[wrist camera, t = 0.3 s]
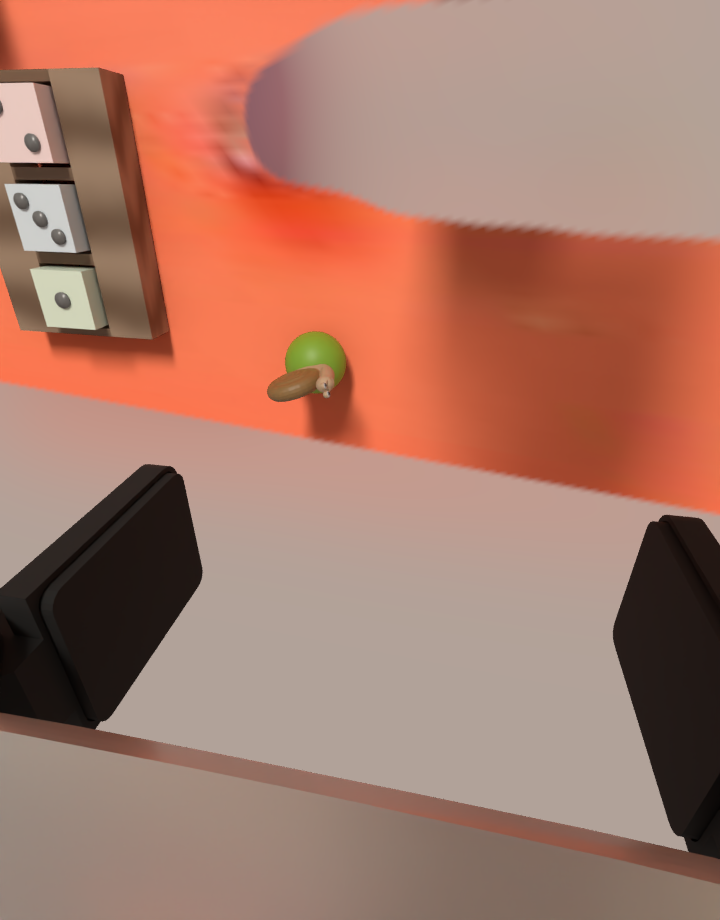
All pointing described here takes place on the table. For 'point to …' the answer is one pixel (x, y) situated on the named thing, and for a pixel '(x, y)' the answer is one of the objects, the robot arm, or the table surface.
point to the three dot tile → (48, 217)
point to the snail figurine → (310, 367)
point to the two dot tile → (30, 125)
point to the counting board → (90, 207)
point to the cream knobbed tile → (70, 296)
